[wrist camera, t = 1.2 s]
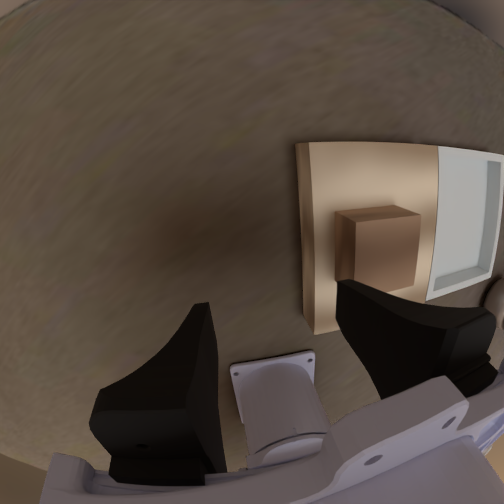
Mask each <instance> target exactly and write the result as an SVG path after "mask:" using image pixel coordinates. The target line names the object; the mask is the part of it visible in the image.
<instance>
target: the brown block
mask: <svg viewBox="0 0 504 504" xmlns="http://www.w3.org/2000/svg"><path fill="white" fill-rule="evenodd" d="M420 228H421V215H420V214H418V213H415V212H412V211H410V210H407V209H404V208H402V207H399V206H396V205H393V206H382V207H371V208H361V209H351V210H341V211H335V281H336V283H337V281H340V280H346V279H352V280H355V281H358V282H360V283H363V284H366V285H368V286H371V287H373V288H375V289H378V290H381V291H383V292H386V293H387V292H391V291H395V290H398V289H402V288H406V287H410V286H414V281H415V274H416V266H417V259H418V250H419V240H420Z"/></svg>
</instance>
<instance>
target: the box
mask: <svg viewBox="0 0 504 504" xmlns="http://www.w3.org/2000/svg"><path fill="white" fill-rule="evenodd" d="M503 186H504V155H500V154H494V153H488V152H482V151H475V150H468V149H461V148H452V147H443V146H438V197H437V215H436V228H435V238H434V247H433V255H432V263H431V269H430V276H429V282H428V287H427V293H426V298H425V301H427V300H430V299H433V298H436V297H439V296H442V295H445V294H448V293H450V292H453V291H456V290H459V289H462V288H464V287H467V286H470V285H472V284H475V283H478V282H480V281H483V280H485V279H488V278H490V277H491V274H492V269H493V265H494V260H495V254H496V249H497V243H498V237H499V230H500V222H501V213H502V202H503Z"/></svg>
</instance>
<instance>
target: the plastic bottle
mask: <svg viewBox="0 0 504 504" xmlns="http://www.w3.org/2000/svg"><path fill="white" fill-rule="evenodd" d="M483 307H484V308H486V309H487V310H489V311H490V312H491V313H493V314H494V315H495V317H496V327H497V328H499V329H502V330H504V279H500V280H497V281H496V282H495V283H494V284H493V285H492V287H491V288H490V290H489V292H488V294H487V296H486V298H485V301H484V304H483Z"/></svg>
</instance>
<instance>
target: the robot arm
mask: <svg viewBox="0 0 504 504" xmlns="http://www.w3.org/2000/svg"><path fill="white" fill-rule="evenodd" d="M335 319H336V321H337V323H338V326H339V328H340V330H341V332H342V334H343V336H344V337H345V339H346V340H347V342H348V343H349V345H350V346H351V348H352V349H353V350H354V352H355V353H356V355H357V356H358V358H359V359H360V361H361V362H362V364H363V365H364V366H365V368H366V370H367V371H368V373H369V375H370V377H371V379H372V381H373V383H374V385H375V387H376V389H377V391H378V393H379V396H380V398H381V400H380V401H377V402H374V403H372V404H369V405H366V406H363V407H361V408H359V409H357V410H355V411H353V412H350V413H348V414H346V415H345V416H343V417H342V418H341V419H340V420H338V421H337V422H336V423H334V424H333V425H332V426H331V424H330V422H329V419H328V417H327V415H326V412H325V410H324V408H323V406H322V403H321V401H320V399H319V396H318V394H317V392H316V390H315V387H314V368H315V353H314V352H313V351H311V350H310V351H305V352H300V353H295V354H290V355H285V356H280V357H275V358H269V359H264V360H258V361H252V362H246V363H239V364H233V365H231V366H230V373H231V378H232V382H233V387H234V392H235V396H236V401H237V405H238V409H239V414H240V418H241V422H242V423H243V424H244V427H245V433H246V439H247V445H248V451H249V455H248V456H246V460H247V466H248V468H240V469H239V470H238V471H237V472H228V473H227V467H226V461H225V455H224V449H223V442H222V435H221V427H220V419H219V410H218V350H217V340H216V335H215V331H214V326H213V321H212V316H211V311H210V306H209V302H206V303H198V304H194V306H193V307H192V309H191V310H190V312H189V314H188V315H187V317H186V318H185V320H184V321H183V323H182V324H181V326H180V327H179V329H178V330H177V332H176V333H175V334H174V335H173V337H172V338H171V339H170V340H169V342H168V343H167V344H166V345H165V346H164V347H163V348H162V349H161V350H160V351H159V352H158V353H157V354H156V355H155V356H154V357H152V358H151V359H150V360H149V361H148V362H146V363H145V364H144V365H143V366H141V367H140V368H139V369H137V370H136V371H134V372H133V373H131V374H129V375H128V376H126V377H125V378H123V379H121V380H119V381H117V382H115V383H113V384H111V385H109V386H107V387H105V388H103V389H100V391H99V393H98V396H97V398H96V401H95V404H94V407H93V411H92V414H91V417H90V421H89V426H90V430H91V431H92V433H93V435H94V436H95V437H96V439H97V440H98V441H99V442H100V443H101V444H102V446H103V447H104V448H105V449H106V450H107V451H108V453H109V454H110V455H111V456H112V457H111V462H110V468H109V471H101V470H95V469H94V468H93V467H92V466H91V465H90V464H89V463H88V462H87V461H86V460H84V459H82V458H79V457H76V456H71V455H65V454H60V453H53V455H52V459H51V462H50V465H49V468H48V472H47V475H46V479H45V483H44V486H43V490H42V494H41V499H40V503H39V504H504V484H503V482H502V480H501V479H500V478H499V476H498V475H497V473H496V472H495V470H494V469H493V467H492V466H491V465H490V463H489V462H488V460H487V459H486V458H485V456H484V455H483V453H482V452H483V451H485V450H486V449H487V448H488V447H489V446H490V445H491V444H492V443H493V442H495V441H496V440H497V439H498V438H499V437H500V436H501V435H502V434H503V433H504V359H503V360H502V362H501V364H500V367H499V369H498V370H496V369H495V368H494V367H493V366H492V365H491V364H490V363H489V361H490V359H491V357H490V356H489V355H488V354H487V350H488V348H489V345H490V343H491V341H492V338H493V335H494V332H495V329H496V317H495V315H494V314H493V313H491V312H490V311H489V310H487V309H486V308H484V307H472V308H454V307H441V306H434V305H428V304H423V303H418V302H414V301H410V300H407V299H403V298H400V297H397V296H394V295H391V294H388V293H386V292H383V291H381V290H378V289H375V288H373V287H371V286H368V285H366V284H363V283H360V282H358V281H355V280H352V279H346V280H340V281H337V295H336V314H335ZM310 358H311V359H310ZM308 359H310V360H308ZM235 372H238V373H235Z"/></svg>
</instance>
